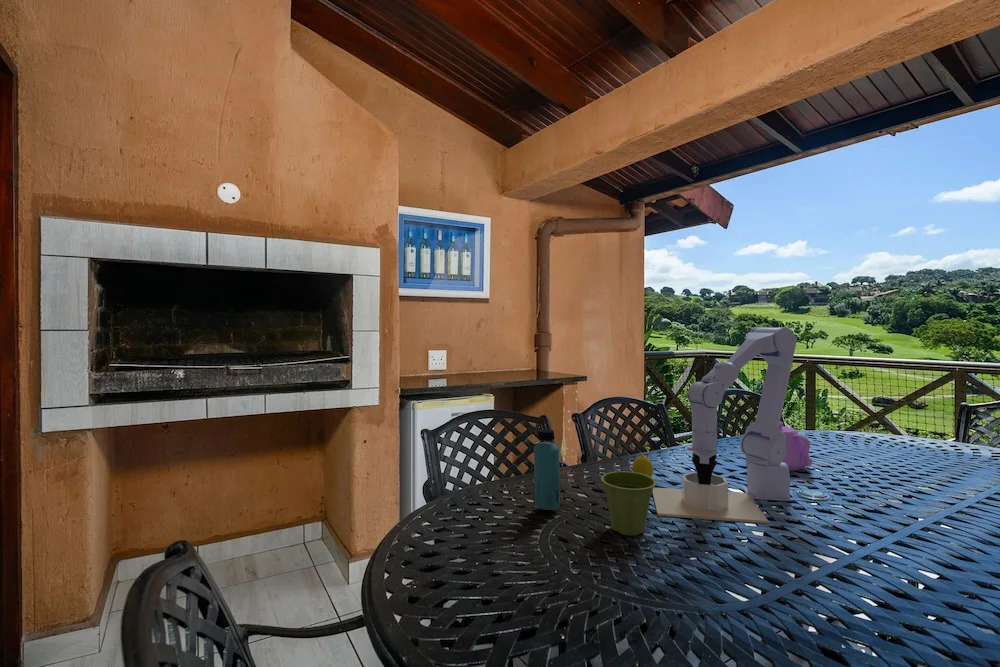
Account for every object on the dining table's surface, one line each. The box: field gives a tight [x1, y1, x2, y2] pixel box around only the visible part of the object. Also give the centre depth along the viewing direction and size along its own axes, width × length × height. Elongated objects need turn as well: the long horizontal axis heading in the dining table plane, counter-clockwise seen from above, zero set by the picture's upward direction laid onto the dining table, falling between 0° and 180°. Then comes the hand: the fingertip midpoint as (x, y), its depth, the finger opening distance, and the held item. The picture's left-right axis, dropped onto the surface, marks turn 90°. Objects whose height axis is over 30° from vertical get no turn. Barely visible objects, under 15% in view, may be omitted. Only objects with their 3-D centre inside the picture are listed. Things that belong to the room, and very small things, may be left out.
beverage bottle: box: [533, 428, 562, 511], centre depth 120 cm, size 6×7×20 cm
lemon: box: [632, 454, 654, 478], centre depth 139 cm, size 6×6×8 cm
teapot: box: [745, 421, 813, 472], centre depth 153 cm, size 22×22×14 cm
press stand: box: [652, 471, 770, 524], centre depth 122 cm, size 24×18×7 cm
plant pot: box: [600, 470, 657, 537], centre depth 109 cm, size 12×12×11 cm
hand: (704, 484), depth 122 cm, fingers closed on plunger, 3 cm apart
